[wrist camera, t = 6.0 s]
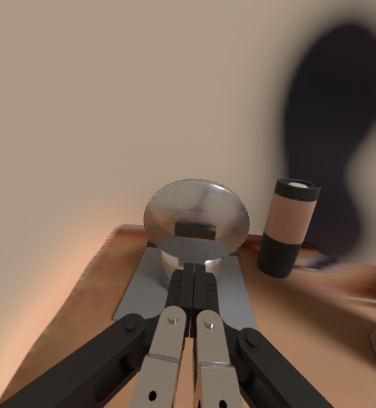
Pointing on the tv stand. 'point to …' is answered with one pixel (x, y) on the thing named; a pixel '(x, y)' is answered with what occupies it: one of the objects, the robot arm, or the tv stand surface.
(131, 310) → the mat
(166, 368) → the robot arm
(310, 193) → the travel mug
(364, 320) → the tv stand surface
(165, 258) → the pot
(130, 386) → the tv stand surface
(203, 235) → the lid
